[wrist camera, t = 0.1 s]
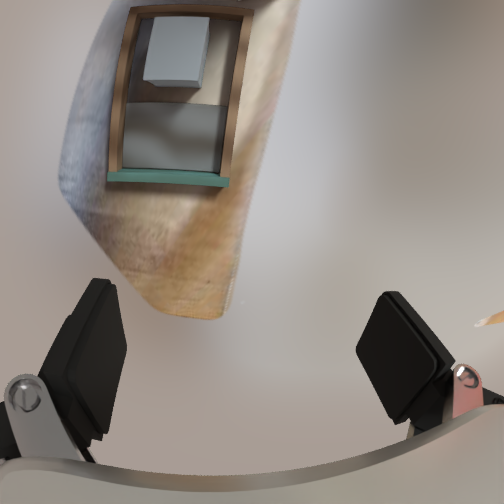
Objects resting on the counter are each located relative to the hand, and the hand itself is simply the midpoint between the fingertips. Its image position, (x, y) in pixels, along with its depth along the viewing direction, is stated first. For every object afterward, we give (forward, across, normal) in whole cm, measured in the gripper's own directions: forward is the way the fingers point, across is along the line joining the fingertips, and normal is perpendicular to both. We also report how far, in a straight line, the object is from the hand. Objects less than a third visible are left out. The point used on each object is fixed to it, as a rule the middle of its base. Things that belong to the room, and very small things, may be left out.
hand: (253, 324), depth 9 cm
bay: (+31, +7, -10) cm, 34 cm away
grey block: (+31, +7, -15) cm, 35 cm away
